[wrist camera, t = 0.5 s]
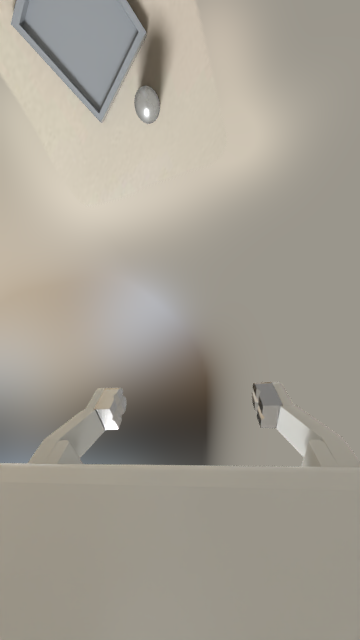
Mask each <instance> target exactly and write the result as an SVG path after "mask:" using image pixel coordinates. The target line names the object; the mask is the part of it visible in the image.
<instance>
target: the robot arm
mask: <svg viewBox="0 0 360 640" xmlns="http://www.w3.org/2000/svg"><path fill="white" fill-rule="evenodd" d="M253 390H254V392H253V393H252V402H253V406H254V409H255V411H257V419H258V421H259V425H260V427H261V428H277V430H278V431H279V432H280V433H281V434H282V435H283V436H284V437H285V438H286V439H287V440H288V441H289V442H290V443H291V445H292V446H293V447H294V448H295V449H296V450H297V451H298V452H299V453H300V454H301V455H302V456H303V457H304V459H303V462H302V465H301V467H287V466H286V467H285V466H283V467H282V466H281V467H280V466H277V467H276V466H201V465H197V466H195V465H193V466H192V465H111V464H83V463H82V461H81V460H80V457H81V456H82V455H83V454H84V453H85V452H86V451H87V450H88V449H89V448H90V446H91V445H92V444H93V443H94V442H95V441H96V440H97V439H98V438H99V437H100V435H101V434H102V433H103V432H104V431H105V430H111V429H118V428H119V426H120V423H121V420H122V418H121V415H122V414H123V413H124V412H125V409H126V398H125V396H123V395H122V394H123V390H122V388H99V389H97V390H96V392H95V393H94V395H93V397H92V398H91V400H90V402H89V404H88V405H87V407H86V409H85V410H82V411H81V412H79V413H78V414H77V415H75V416H74V417H73V418H72V419H70V420H69V421H68V422H66V423H65V424H64V425H63V426H61V427H60V428H58V429H57V430H56V431H55V432H53V433H52V434H51V435H49V436H48V437H47V438H45V439H44V440H43V442H42V443H41V445H40V446H39V447H38V449H37V450H36V452H35V453H34V455H33V456H32V458H31V459H30V460H29V462H28V463H25V464H24V463H0V640H360V461H359V460H358V459H357V457H356V456H355V454H354V453H353V451H352V450H351V448H350V447H349V446H348V444H347V443H346V441H345V440H344V439H343V438H342V437H341V436H339V435H338V434H336V433H335V432H333V431H332V430H331V429H329V428H328V427H326V426H325V425H324V424H322V423H321V422H320V421H318V420H317V419H315V418H314V417H313V416H311V415H310V414H308V413H307V412H305V411H304V410H302V409H301V408H300V407H298V406H296V405H294V404H293V403H292V401H291V399H290V397H289V395H288V393H287V392H286V390H285V388H284V386H283V384H282V383H281V382H265V383H253Z"/></svg>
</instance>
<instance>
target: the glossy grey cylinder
mask: <svg viewBox="0 0 360 640" xmlns="http://www.w3.org/2000/svg"><path fill="white" fill-rule="evenodd" d="M135 110H136V113H137V115H138V117H139V118H140V119H141V120H142V121H143V122H145V123H148V124H150V123H153V122H154V121H155V120H156V119H157V117H158V115H159V111H160V103H159V98H158V96H157V94H156V92H155V91H154V90H153V89H152V88H151V87H149V86H142V87H140V88H139V89H138V91H137V93H136V95H135Z"/></svg>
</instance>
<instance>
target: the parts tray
mask: <svg viewBox="0 0 360 640" xmlns="http://www.w3.org/2000/svg"><path fill="white" fill-rule="evenodd" d="M11 25H12V26H13V27H14V28H15V29H16V30H17V31H18V32H19V33H20V34H21V36H22V37H23V38H24V39H25V40H26V41H27V42H28V43H29V44H30V45H31V47H32V48H33V49H34V50H35V51H36V52H37V53H38V54H39V55H40V56H41V57H42V59H43V60H44V61H45V62H46V63H47V64H48V65H49V66H50V67H51V68H52V70H53V71H54V72H55V73H56V74H57V75H58V76H59V77H60V78H61V79H62V80H63V82H64V83H65V84H66V85H67V86H68V87H69V88H70V89H71V90H72V91H73V93H74V94H75V95H76V96H77V97H78V98H79V99H80V100H81V101H82V102H83V104H84V105H85V106H86V107H87V108H88V109H89V110H90V111H91V112H92V113H93V114H94V116H95V117H96V118H97V119H98V120H99V121H100V122H101V123H102V122H103V121H104V119H105V117H106V115H107V113H108V111H109V109H110V107H111V105H112V103H113V101H114V99H115V97H116V95H117V93H118V91H119V89H120V87H121V85H122V83H123V81H124V79H125V77H126V75H127V73H128V71H129V69H130V67H131V66H132V64H133V62H134V60H135V58H136V56H137V54H138V52H139V50H140V48H141V46H142V44H143V42H144V40H145V38H146V36H147V35H146V31H145V29H144V28H143V26H142V25H141V23H140V21H139V20H138V18H137V16H136V15H135V13H134V12H133V10H132V8H131V7H130V5H129V4H128V2H127V0H16V4H15V8H14V13H13V17H12V22H11Z"/></svg>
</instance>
